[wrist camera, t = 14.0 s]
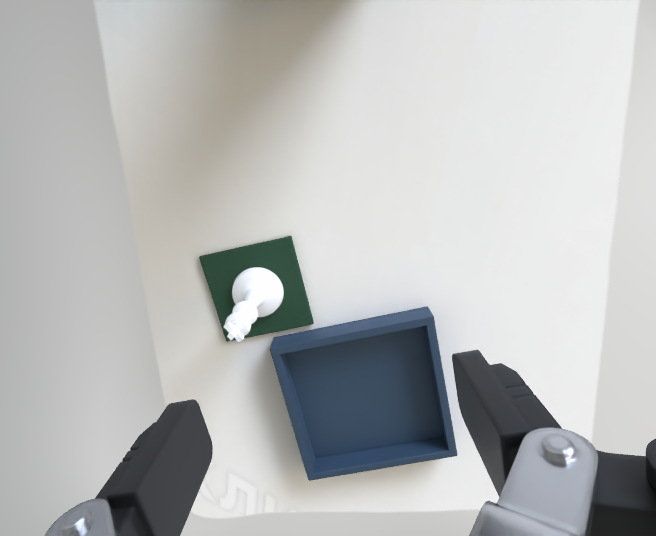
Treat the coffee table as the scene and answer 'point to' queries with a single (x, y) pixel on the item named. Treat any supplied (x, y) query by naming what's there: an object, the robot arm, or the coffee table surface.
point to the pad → (272, 257)
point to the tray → (366, 393)
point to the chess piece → (253, 300)
